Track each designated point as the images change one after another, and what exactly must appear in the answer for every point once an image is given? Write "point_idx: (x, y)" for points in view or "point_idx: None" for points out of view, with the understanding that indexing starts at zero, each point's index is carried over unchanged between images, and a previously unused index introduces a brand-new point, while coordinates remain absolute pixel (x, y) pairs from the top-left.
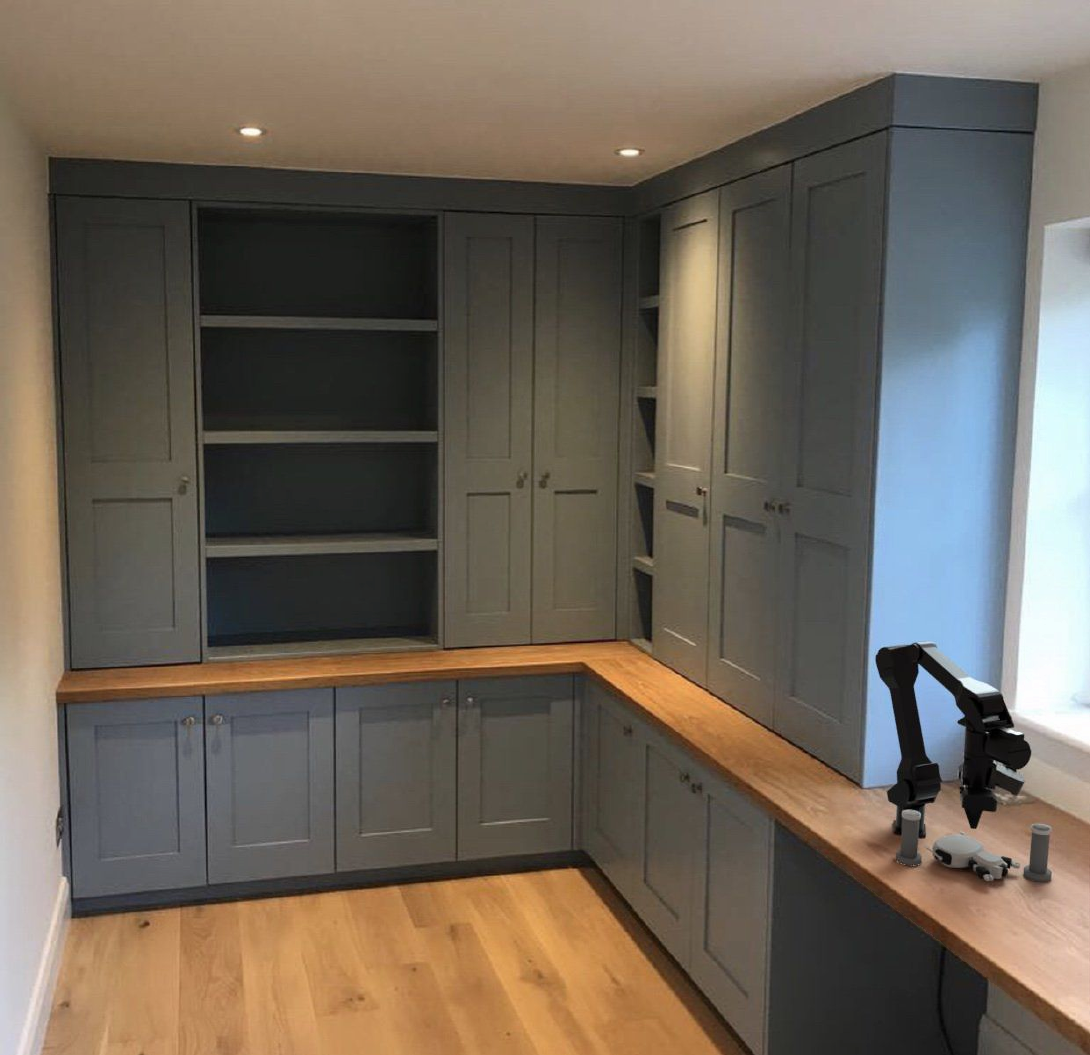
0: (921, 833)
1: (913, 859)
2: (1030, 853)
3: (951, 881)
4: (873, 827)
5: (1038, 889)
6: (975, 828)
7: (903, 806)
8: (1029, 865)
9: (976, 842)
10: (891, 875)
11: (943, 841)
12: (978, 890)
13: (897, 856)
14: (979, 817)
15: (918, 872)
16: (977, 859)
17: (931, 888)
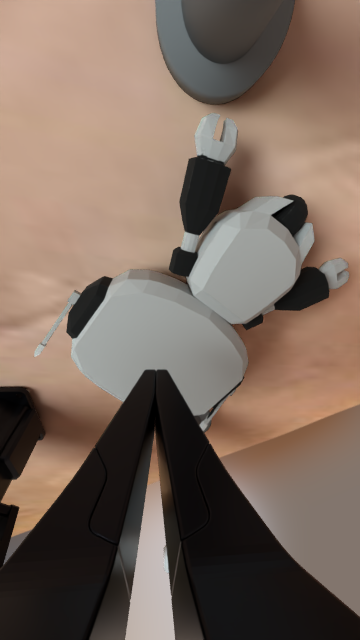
0: (17, 399)
1: (204, 417)
2: (256, 4)
3: (278, 345)
4: (30, 458)
5: (351, 53)
6: (168, 373)
7: (16, 515)
8: (228, 51)
9: (124, 311)
10: (254, 430)
11: None
12: (332, 291)
13: None
14: (201, 432)
15: (235, 397)
16: (260, 312)
17: (312, 379)
